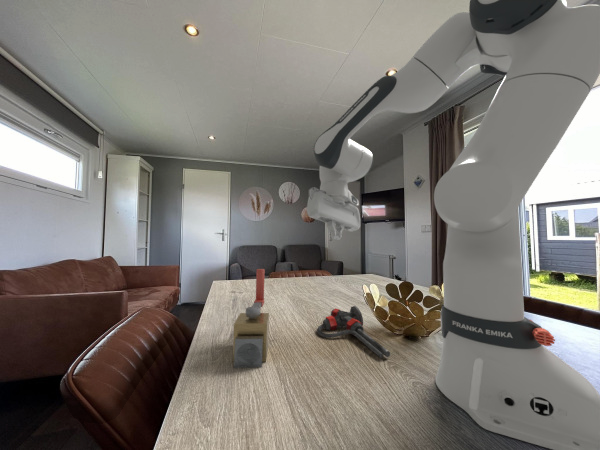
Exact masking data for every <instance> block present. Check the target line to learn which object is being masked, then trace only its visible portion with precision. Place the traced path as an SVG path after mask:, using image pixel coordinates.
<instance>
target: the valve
mask: <svg viewBox="0 0 600 450" xmlns="http://www.w3.org/2000/svg"><path fill="white" fill-rule="evenodd" d="M349 309H350V310H349V312H348V311H345V310H341V309H339V308H333V309H332V310H331V311H330V315H329V316H326V317H325V319H323V320H322V323H321V325H319V326H318V327H317V329H316V331H317V332H316V333H317V334H318V335H319V336H320V337H322V338H327V339H330V338H331V339H332V338H337V337H340V336H344V335H349V334H350V335H351V336H354V337H356V338H357V339H358V340H359V341H360V342H362V343H363V344H364V345H365V346H366V347H367V348H369V349H370V350H371V351H372V352H373V353H374V354H375V355H377V356H378V357H379V358H380V359H382V358H383V357H386V358H389V357H390V356H391V353H390V351H389V350H388V349H386V348H385V347H384V346H383V345H381V344H380V343H378V341H376V340H375V339H374V338H373V337H371V336H370V335H369V334H367V333H366V332H365V331H364V330H365V329H364V326H363V325H364V317H363V314H362V313H361V310H360V309H359V308H358V306H357V305H354V306H351V307H350V308H349ZM323 328H325V329H326V331H330V330H331V331H336V330H337V328H346V329H344V330H342V331H341V330H340V331H337V332H334V333H326V332H323V331H321V330H322V329H323Z"/></svg>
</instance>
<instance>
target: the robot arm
mask: <svg viewBox="0 0 600 450" xmlns="http://www.w3.org/2000/svg"><path fill="white" fill-rule="evenodd" d="M468 6H469V8H468V9H469V11H468V12H467V11H466V12H465V11H463V12H458V13H456V14H454V15H452V16H450V17H449V18H447V20H446V21H445V22H444V23H442V24H441V25H440V26H439V27H438V29H436V30H435V31H434V32H433V33H432V35H431V36H429V37H428V38H427V40H425V42H424V43H422V45H421V46H420V48H419V49H418V50H417V51H416V52H415V54H414V55H413V56H412V57H411V58H410V59H409V61H408V62H407V63H405V65H404V66H402V67H401V69H399V70H398V71H396V72H394V73H393V74H391V75H384V76H383V77H381V78H379V79H378V80H376V81H375V82H374V83H373V84H372V85H371V86H370V87H369V88H368V89H367V90H366V91H364V93H363V94H362V95H360V97H359V98H358V99H357V100H356V101H355V102H354V103H353V104H352V105H351V106H350V107H349V109H347V110H346V111H345V112H344V113H343V115H341V117H339V119H337V121H336V122H334V124H332V126H330V127H329V128H328V129H326V130H325V131H324V132H322V134H320V135H319V136H318V137H317V139H316V141H315V143H314V145H313V154H314V158H315V161H316V163H317V165H318V166H319V172H318V173H319V180H320V185H319V188H317V187H315V186H314V187H311V188H309V189H308V199H307V204H306V214H307V216H308V217H309V218H311V219H314V220H318V221H320V222H323V223H325V224H326V226H327V228H328V231H329V233H330V234H329V235H330V238H331V239H334V240H337V241H338V240H341V239H342V238H343V237H342V235H343V231H348V232H356V231H358V230H359V229H360V228H361V216H360V210H359V208H358V206H360V201H359V199H358V198H356V197H355V195H353V194H352V192H351V191H350V190H349V186H348V184H349V183H353V182H356V181H358V180H360V179H362V178H365V177H366V176H367V175H368V174H369V172H371V170H372V167H373V164H374V156H373V153H372V151H371V150H369V149H368V148H367V147H366V146H363V145H361V144H360V143H359V142H357V141H354V140H353V139H351V137H353V136H354V134H356V133H357V132H358V131H359V130H360V129H361V128H362V127H363V126H364V125H365V124H366V123H367V122H368V121H369V120H370V119H372V118H373V117H374V116H377V115H378V114H380V113H384V112H397V113H402V114H416V113H421V112H423V111H427V110H428V109H429V108H430V107H431V106H433V105H434V104H435V103H437V101H438V100H439V99H440V98H441V97H442V96H443V95H444V94H445V93H446V92H447V91H448V90H449V89H450V88H451V86H453V84H455V82H457V80H458V79H460V77H461V76H462V75H463V74H464V73H465V72H467V71H469V70H470V69H471V68H473V67H476V66H479V69H480V72H481V73H483V74H487V75H488V74H489V75H497V76H500V77H502V78H503V80H502V82H501V84H500V85H499V86H498V89H497V90H496V93H495V95H494V97H493V99H492V100H491V103H490V104H489V107H488V108H487V110H486V112H485V114H484V116H483V118H482V120H481V122H480V123H479V125H478V128H477V129H476V131H475V132H474V134H473V135H472V137H471V139H470V140H469V141H468V142H467V144H466V145H465V147H464V148H463V149H462V151H461V153H459V155H458V157H457V158H456V159H455V161H454V162H453V163H452V165H451V166H450V168H449V169H448V170H447V171H446V172H445V173H444V174H443V175H442V176H441V177H440V178H439V180H438V181H437V183H436V186H435V188H434V192H433V201H434V206H435V209H436V213H437V214H438V216H439V218H441V220H442V221H444V223H446V224H447V228H446V229H447V232H446V244H445V249H444V250H445V252H444V258H443V262H442V279H443V281H442V282H443V304H442V305H441V310H440V331H441V336H442V347H441V353H440V354H441V355H440V362H439V365H438V370H437V372H436V374H435V379H434V381H435V384H436V386H437V388H438V390H439V391H440V392H441V393H442V394H443V395H444V396H445V397H446V398H447V399H448V400H450V401H451V402H453V403H454V404H455V405H456V406H458V407H459V408H461V409H462V410H463V411H465V412H466V413H467V414H468V415H469V416H470V417H471V418H472V420H473V421H475V422H476V424H477V425H479V426H480V427H481V428H483V429H484V430H487V431H489V432H492V433H495V434H499V435H502V436H506V437H509V438H513V439H516V440H518V441H519V440H520V441H522V442H526V443H529V444H532V445H537V446H539V447H543V448H546V449H549V450H600V393H599V392H598V390H597V389H596V388H595V387H594V385H593V384H592V383H591V382H590V381H589V380H588V379H587V378H586V377H585V376H584V375H583V374H582V373H580V372H579V371H578V370H576V369H575V368H573V367H572V366H571V365H570V364H569V363H567V362H565V361H564V360H563V359H562V358H560V357H559V356H557V355H556V354H555V353H554V352H553V351H551V350H549V349H548V348H547V347H551V346H552V345H553V344H554V345H555V341H556V339H555V337H554V335H552V333H551V332H550V331H549V330H548V329H545V328H543V327H542V326H541V325H539V323H536V322H534V321H533V320H532V319H529V318H527V317H525V305H524V304H525V303H524V288H523V287H524V285H523V266H522V265H523V264H522V253H521V251H522V250H521V237H520V222H519V221H520V218H519V217H520V216H519V207H520V205H521V203H522V201H523V199H524V198H525V196H526V195H527V193H528V191H529V190H530V188H531V186H532V185H533V183H534V182H535V181H536V178H537V177H538V176H539V174H540V172H541V171H542V169H543V168H544V167H545V165H546V163H547V162H548V160H549V159H550V157H551V155H552V154H553V152H555V150H556V149H557V146H558V145H559V143H560V142H561V140H562V138H563V136H564V135H565V133H566V131H568V128H569V127H570V125H571V124H572V122H573V120H574V119H575V117H576V115H577V113H578V112H579V110H580V108H581V107H582V106H583V104H584V102H585V101H586V99H587V97H588V96H589V94H590V93H591V90H592V89H593V88H594V86H595V84H596V81H597V80H598V78H599V76H600V4H585V5H579V6H573V7H570V6H568V4H567V0H469V5H468Z"/></svg>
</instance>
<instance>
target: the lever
mask: <svg viewBox="0 0 600 450" xmlns="http://www.w3.org/2000/svg"><path fill="white" fill-rule="evenodd" d="M265 270H266V269H265V268H256V272H255V273H256V277H255V280H256V281H255V299H254V301H253V304H252V305H251V306H249V307H247V308H245V313H246V317H249V318H255V317H259V316H260V313H261V308H262V307H263V306H264V304H265V279H266V278H265V277H266V276H265V273H266V271H265Z"/></svg>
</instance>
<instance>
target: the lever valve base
mask: <svg viewBox="0 0 600 450" xmlns="http://www.w3.org/2000/svg"><path fill="white" fill-rule="evenodd" d="M269 326H270V312H260V316H259V317H255V318H249V317H246V312H240V313H239V315H238V317H237V318H236V319H235V321H234V324H233V347H232V348H233V349H232V363H233V368H234V369H235V368H262V367H263V363H265V362H266V363H267V358H268V352H269V351H268V350H269V335H270V334H269V333H270V331H269V329H270V327H269Z"/></svg>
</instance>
